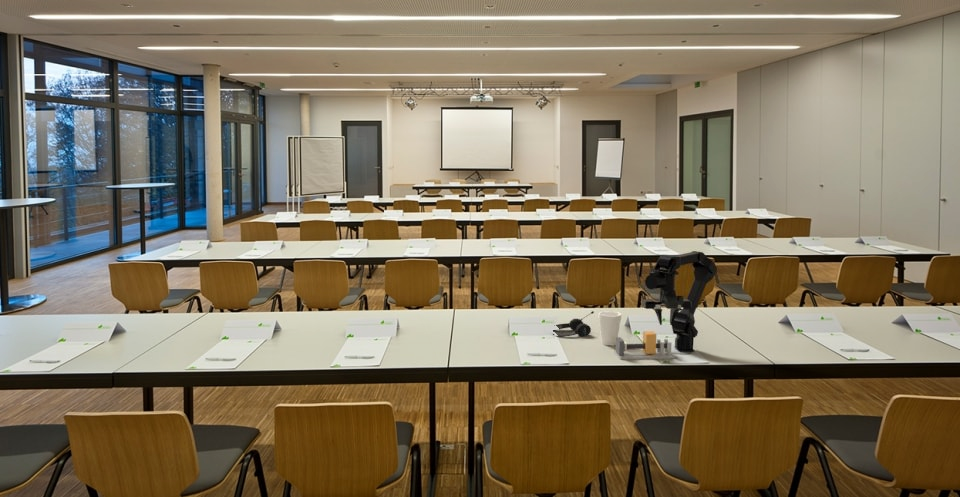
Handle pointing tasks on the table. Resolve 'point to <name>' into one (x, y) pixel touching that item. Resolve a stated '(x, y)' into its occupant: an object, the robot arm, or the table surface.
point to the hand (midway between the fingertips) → (665, 324)
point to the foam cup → (609, 326)
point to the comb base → (639, 354)
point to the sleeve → (649, 342)
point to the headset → (574, 328)
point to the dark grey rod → (640, 346)
